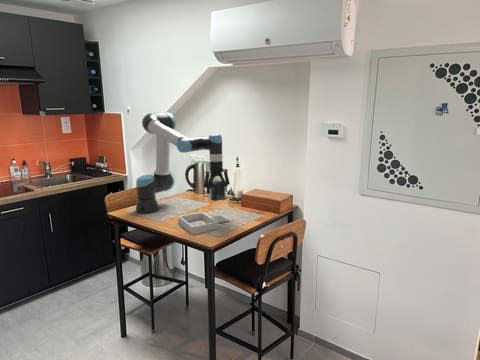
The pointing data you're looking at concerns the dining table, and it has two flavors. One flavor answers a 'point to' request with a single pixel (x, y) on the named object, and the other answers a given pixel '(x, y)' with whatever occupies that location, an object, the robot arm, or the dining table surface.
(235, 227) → the dining table surface
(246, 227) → the dining table surface
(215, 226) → the bin
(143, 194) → the robot arm
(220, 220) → the mat
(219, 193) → the box
